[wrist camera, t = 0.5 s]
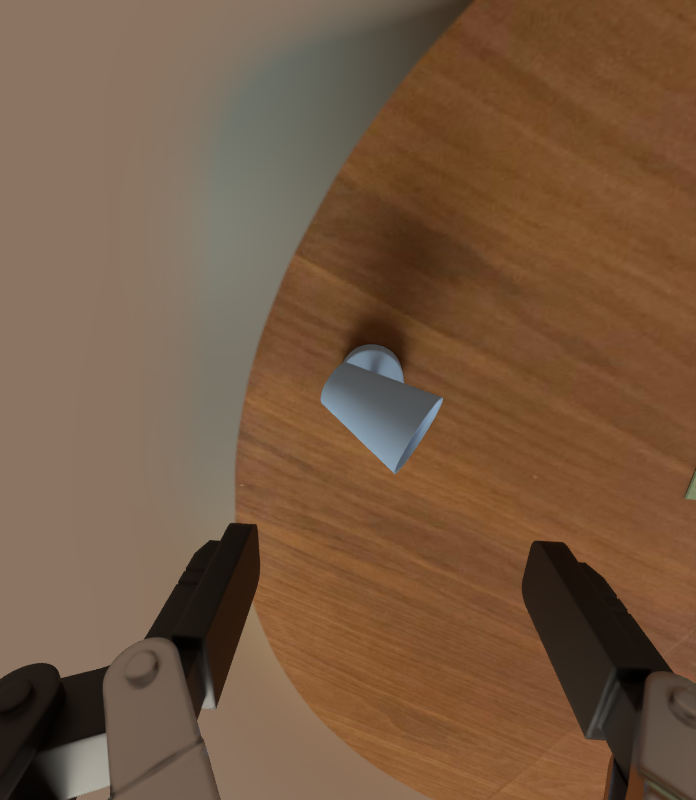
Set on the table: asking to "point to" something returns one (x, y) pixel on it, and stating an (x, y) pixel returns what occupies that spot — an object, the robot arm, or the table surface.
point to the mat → (692, 488)
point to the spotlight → (380, 404)
